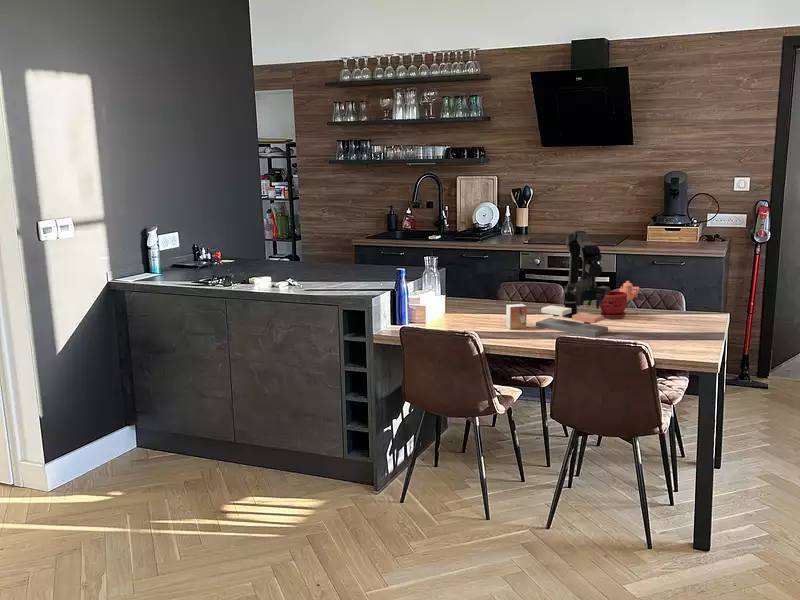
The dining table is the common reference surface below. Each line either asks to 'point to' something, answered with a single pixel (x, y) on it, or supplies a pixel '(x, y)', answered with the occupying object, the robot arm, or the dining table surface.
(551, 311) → the cream rectangular block
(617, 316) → the plant pot
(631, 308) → the dining table surface
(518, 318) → the small box
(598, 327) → the key panel
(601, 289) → the robot arm
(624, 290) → the pottery
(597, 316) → the terracotta key
